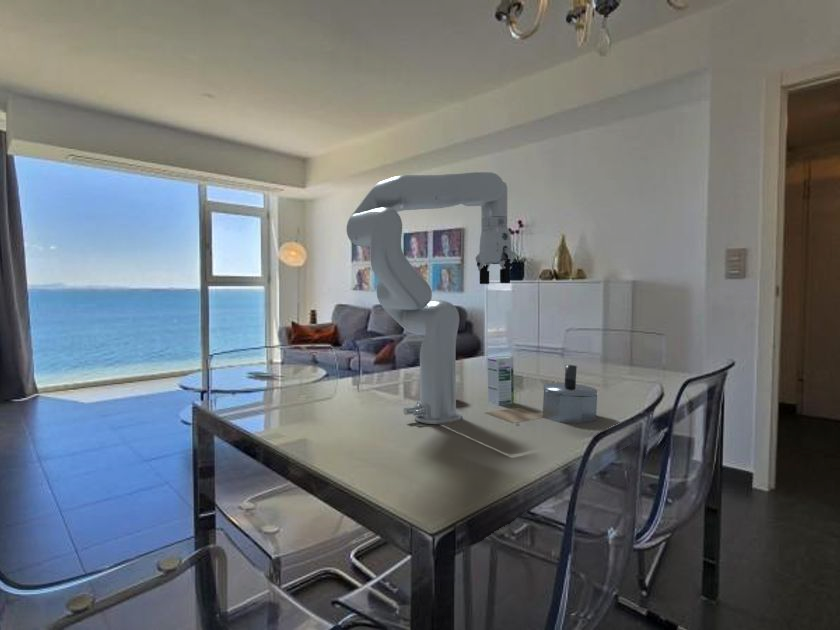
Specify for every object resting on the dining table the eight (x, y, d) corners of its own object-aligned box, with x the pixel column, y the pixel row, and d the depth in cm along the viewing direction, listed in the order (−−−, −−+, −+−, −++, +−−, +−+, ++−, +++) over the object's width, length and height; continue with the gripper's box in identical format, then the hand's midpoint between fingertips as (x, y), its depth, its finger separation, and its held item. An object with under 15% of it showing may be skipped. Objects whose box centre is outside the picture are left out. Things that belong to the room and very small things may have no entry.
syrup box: (498, 407, 139) (497, 358, 139) (487, 403, 145) (487, 355, 144) (514, 405, 141) (514, 356, 141) (502, 401, 147) (502, 354, 146)
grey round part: (570, 426, 117) (573, 371, 116) (531, 413, 128) (533, 362, 128) (606, 420, 124) (609, 368, 123) (566, 408, 135) (569, 360, 135)
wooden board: (512, 425, 120) (512, 422, 120) (484, 415, 130) (484, 412, 130) (548, 418, 125) (548, 416, 125) (518, 409, 136) (518, 407, 136)
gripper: (524, 221, 133) (524, 282, 133) (486, 229, 148) (486, 284, 149) (503, 219, 129) (503, 282, 130) (466, 227, 144) (467, 284, 145)
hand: (494, 283), depth 139 cm, fingers open, 9 cm apart
